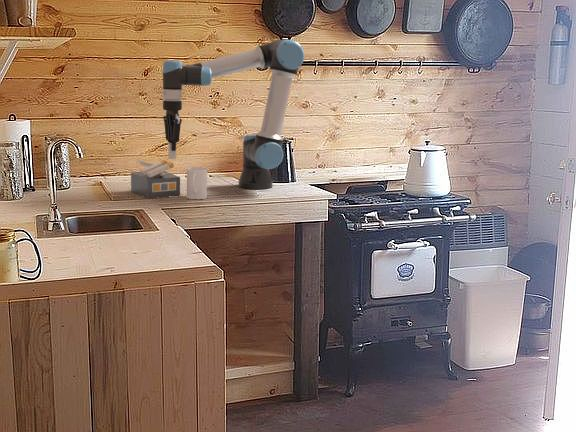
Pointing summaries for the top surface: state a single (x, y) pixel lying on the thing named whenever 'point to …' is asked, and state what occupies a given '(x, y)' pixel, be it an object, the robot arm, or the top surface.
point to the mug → (196, 183)
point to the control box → (155, 185)
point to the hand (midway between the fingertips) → (172, 158)
